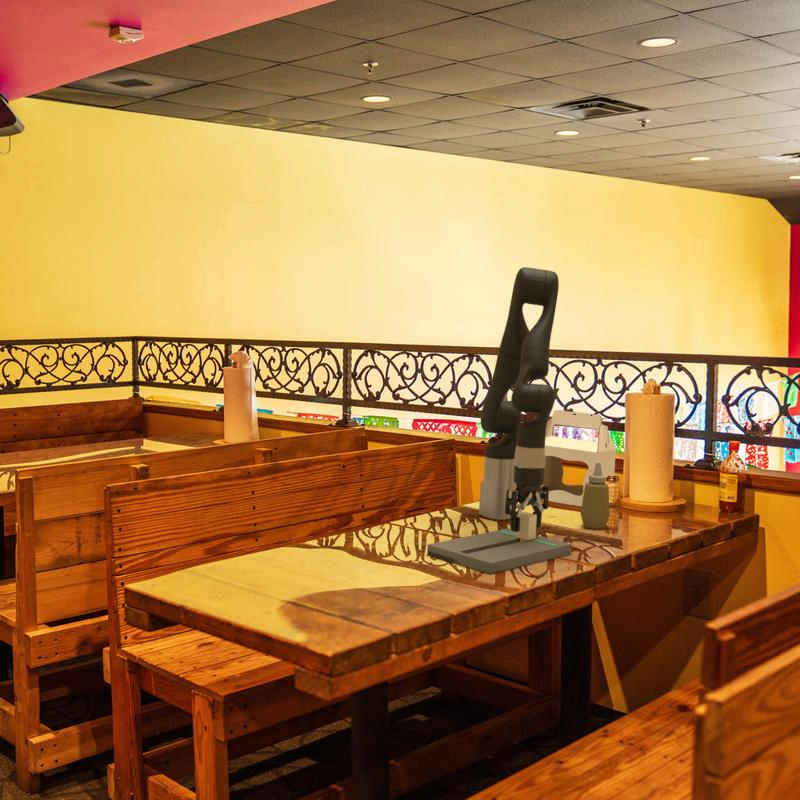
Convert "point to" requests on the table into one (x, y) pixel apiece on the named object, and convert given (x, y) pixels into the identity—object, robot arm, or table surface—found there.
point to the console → (497, 551)
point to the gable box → (575, 455)
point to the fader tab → (527, 527)
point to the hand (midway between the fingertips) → (525, 528)
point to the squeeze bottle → (595, 501)
